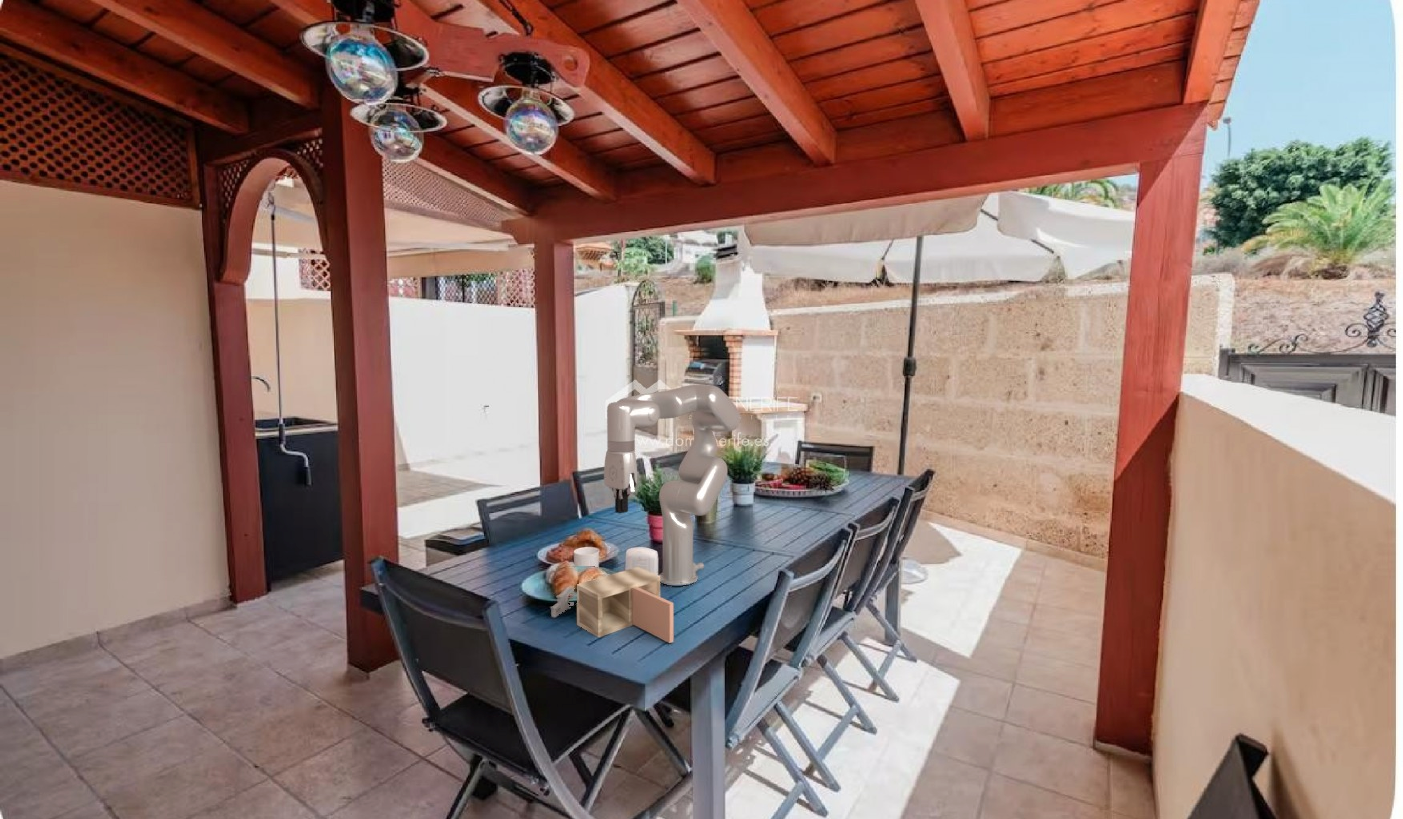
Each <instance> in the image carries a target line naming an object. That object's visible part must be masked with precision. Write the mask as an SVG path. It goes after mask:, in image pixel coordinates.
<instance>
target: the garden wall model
mask: <svg viewBox="0 0 1403 819" xmlns="http://www.w3.org/2000/svg"><path fill="white" fill-rule="evenodd" d="M571 587H572V586H566V587H565V588H564V589H563V590H562V591H561V592H560V593H559V594H557V595H556V596H555V597H556V598H557V603H555V604H553V606H549V608H550V610H551V612H550V614H551V618H557V617H558V616H560V615H561V614H563V613H565V612H566V611H567V610H570V609H571V607H569V606H573V607H574V606H575V605H574V602H569V600H568V598H569V597H568V596H569V595H570V594H574V593H573V591H574V589H575V588H571ZM568 603H570V605H569V604H568ZM565 610H566V611H565ZM562 612H563V613H562ZM559 614H560V615H559Z"/></svg>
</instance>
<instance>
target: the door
mask: <svg viewBox="0 0 1403 819" xmlns="http://www.w3.org/2000/svg"><path fill="white" fill-rule="evenodd" d="M632 620H633V624H634V625H633V626H635V627H638V628H639V629H641V630H644V631H645V632H647V633H649V634H651V635H653V636H655V637H657V638H659V639H661V640H663V641H665V643H669V644H670V643H674V602H672V601H671V600H668V599H665V598H663V597H661V596H660V597H659V596H657V595H654V594H652V593H650V592H648V591H645V590H643V589H641V588H639V587H632Z"/></svg>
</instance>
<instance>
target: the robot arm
mask: <svg viewBox="0 0 1403 819" xmlns="http://www.w3.org/2000/svg"><path fill="white" fill-rule="evenodd" d="M688 414H691V424H692V430H693V441H692V442H691V445H690V447H689V449H688V450H687V452H686V454H685V456H684V457H683V458H682V460H681V463H680V465H679V468H678V474H677V475H678V477H679V478H680V479H681V480H676V479H675V480H670V481H667V482H665V483H664V484H663V485H662V486H661V487H660V490H659V495H658V497H659V505H660V508H661V509H660V510H661V516H662V572H661V573H658V575H659V576H660V582H661V583H664V584H667V585H686V584H690V583H693V582H696V581H697V579H698V580H699V576H698V574H697V573H696V572H697V571H698V570H702V569H704V568H705V565H704V562H699V563H697V564H696V563H695V562H694V524H693V520H692V517H691V515H692V516H698V517H699V516H705V515H707V514H708V513H709V512H710V511H711V510H712V508H713V507H714V504H715V503H716V501H717V499H718V497H719V496H720V494H721V491H722V489H723V488H724V485H725V484H726V480H727V477H728V465H727V463H726V461H725V460H724V459H723V458H721V457H719V456H716V455H717V452H718V443H717V439H716V437H715V435H714V431H715V432H716V431H719V432H733V431H735V430H736V429H737V428H738V427H739V425H740V423H741V414H740V410H739V409H738V407H737V406H736V405H735V403H734V402H733V401H732V399H730V398H729V395H727V394H726V393H725V392H724V391H723V390H722V389H721V388H720V387H718V386H716V385H713V384H712V385H709V384H706V385H705V384H702V385H701V384H689V385H685V386H681V387H678V388H673V389H669V390H662V391H655V392H651V393H644V394H643V393H642V394H638V395H637V394H636V395H632V396H628V397H624V398H621V399H619V400H617V401H613V402H609V404H608V405H607V407H606V424H607V426H606V428H607V429H606V430H607V433H606V434H607V436H606V437H607V443H606V444H607V448H606V449H607V451H606V453H605V457H604V458H605V459H604V466H603V467H604V468H603V469H604V470H603V472H604V473H603V483H604V485H605V486H607V487H608V489H610V490H611V491H612V492H613V497H614V505H615V506H614V508H615V509H614V511H615V513H617V514H624V513H628V512H629V498H630V495H632V494H635V492H636V490H635V489H636V488H637V485H638V466H637V456H636V449H635V448H636V445H635V444H636V442H635V441H636V434H635V432H636V430H635V428H636V427H643V428H647V427H652V426H655V424H656V423H658V421H659V420H661V419H664V420H665V419H674V418H675V419H676V418H679V417H681V416H684V415H688ZM697 582H698V581H697ZM697 582H696V583H697ZM661 583H660V584H661Z"/></svg>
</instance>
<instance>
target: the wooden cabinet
mask: <svg viewBox="0 0 1403 819" xmlns="http://www.w3.org/2000/svg"><path fill="white" fill-rule="evenodd" d="M632 587H639V588H641V589H643V590H645V591H648V592H650V593H652V594H654V595H657V596H659V597H661V583H660V576H659V574H658V575H656V574H654V573H652V572H649V571H647V570H644V569H642V568H639V567H636V568H632V569H629V570H622V571H619V572H615V573H612V574H611V573H610V574H609V575H608V574H607V575H605V576H602V577H598V578H597V579H593V580H590V581H586V582H583V583H579V584H577V603H576V625H577V626H578V627H579V628H581V627H582V629H583V630H585V631H586V630H587V632H588V633H590V634H591V635H593V636H595V637H596V638H601V637H604V636H607V635H610V634H613V633H615V632H618V631H620V630H624V629H627V628H629V627H631V626H635V625H634V624H633V620H632Z"/></svg>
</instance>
